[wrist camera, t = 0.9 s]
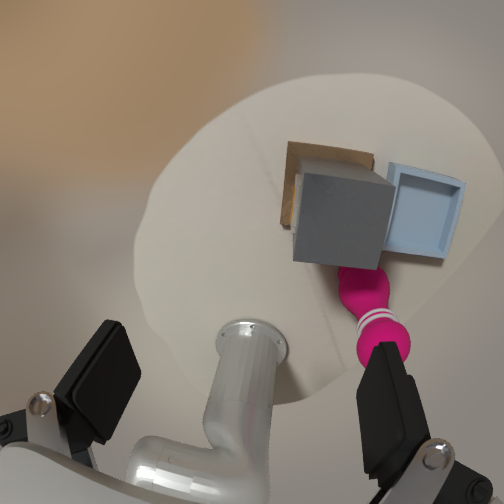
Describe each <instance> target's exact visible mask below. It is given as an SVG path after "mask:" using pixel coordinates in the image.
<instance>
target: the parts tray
mask: <svg viewBox="0 0 504 504" xmlns="http://www.w3.org/2000/svg"><path fill="white" fill-rule="evenodd" d="M387 181H388V182H390V183H391V184H393V185H394V186H396V190H395V195H394V200H393V205H392V210H391V214H390V219H389V223H388V228H387V232H386V236H385V240H384V244H383V248H382V250H384V251H392V252H400V253H407V254H415V255H422V256H430V257H437V258H444V259H446V256H447V253H448V250H449V246H450V243H451V240H452V237H453V233H454V230H455V226H456V223H457V219H458V215H459V211H460V207H461V203H462V199H463V195H464V190H465V185H466V183H464V182H462V181H460V180H458V179H455V178H452V177H448V176H445V175H441V174H437V173H434V172H430V171H426V170H422V169H418V168H413V167H409V166H405V165H400V164H396V163H391V162H389V168H388V174H387Z"/></svg>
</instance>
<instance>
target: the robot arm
mask: <svg viewBox="0 0 504 504" xmlns="http://www.w3.org/2000/svg"><path fill="white" fill-rule="evenodd" d="M216 349H217V352H218V354H219V356H220V360H219V363H218V367H217V370H216V373H215V377H214V380H213V384H212V387H211V391H210V394H209V398H208V401H207V405H206V408H205V412H204V415H203V429H204V432H205V435H206V437H207V439H208V441H209V443H210V444H211V446H212V448H213V449H208V448H200V447H196V446H192V445H188V444H184V443H180V442H177V441H173V440H170V439H166V438H162V437H158V436H145V437H143V438H141V439H139V440H138V442H136V444H135V445H134V447H133V449H132V452H131V455H130V458H129V462H128V468H127V475H126V482H124V481H121V480H119V479H116V478H114V477H111V476H109V475H106V474H104V473H102V472H99V470H98V467H97V464H96V461H95V458H94V455H93V451H92V448H91V444H92V442H93V441H95V442H97V443H100V444H102V445H105V443H106V441H107V440H109V439H111V437H112V435H113V433H114V430H115V428H116V426H117V424H118V422H119V420H120V418H121V416H122V414H123V412H124V410H125V408H126V406H127V404H128V402H129V400H130V398H131V396H132V393H133V391H134V390H135V388H136V386H137V384H138V382H139V380H140V377H141V369H140V367H139V364H138V362H137V359H136V357H135V354H134V352H133V349H132V346H131V344H130V341H129V339H128V336H127V333H126V330H125V328H124V326H122V324H121V323H120V322H118V321H113V320H108V319H107V320H105V321H104V322H103V323H102V325H101V326H100V327H99V328H98V330H97V331H96V332H95V334H94V335H93V336H92V338H91V339H90V341H89V342H88V343H87V345H86V346H85V347H84V349H83V350H82V351H81V353H80V354H79V355H78V357H77V358H76V360H75V361H74V363H73V364H72V365H71V367H70V368H69V369H68V371H67V372H66V374H65V375H64V377H63V378H62V380H61V381H60V383H59V384H58V385H57V387H56V388H55V390H54V393H55V394H54V395H53V396H52V395H51V394H50V393H48V392H45V391H42V392H37V393H35V394H34V395H33V396H31V397H30V398H29V400H28V402H27V404H26V409H23V410H20V411H17V412H13V413H10V414H6V415H3V416H0V504H268V502H269V497H270V475H269V436H270V426H271V417H272V406H273V397H274V387H275V376H276V366H278V365H279V364H280V363H281V362H282V361H283V360H284V358H285V356H286V351H287V345H286V341H285V338H284V337H283V335H282V334H281V333H280V332H279V331H278V330H277V329H276V328H274V327H273V326H271V325H269V324H267V323H265V322H261V321H257V320H246V319H244V320H237V321H234V322H231V323H229V324H227V325H225V326H224V327H223V328H222V329H221V330H220V332H219V333H218V336H217V339H216ZM356 399H357V406H358V414H359V423H360V431H361V441H362V451H363V463H364V472H365V473H366V474H369V480H370V479H378V487H379V489H378V490H377V491H376V492H375V494H374V495H373V496H372V498H371V499H370V500H369V501H368V502H367V504H503V503H502V501H501V500H500V499H499V498H498V497H497V496H496V497H493V496H492V493H493V487H492V483H491V482H490V480H489V479H487V478H486V477H485V476H483V475H481V474H479V473H477V472H475V471H473V470H472V469H470V468H468V467H466V466H464V465H463V464H461V463H459V462H458V461H456V460H455V452H454V449H453V447H452V446H451V444H450V443H449V442H447V441H446V440H443V439H440V438H434V439H431V436H430V433H429V429H428V425H427V421H426V418H425V414H424V410H423V407H422V403H421V400H420V396H419V393H418V390H417V387H416V384H415V380H414V378H413V377H412V376H411V375H407V373H406V370H405V367H404V364H403V361H402V358H401V355H400V352H399V349H398V346H397V343H396V342H395V341H384V342H379V344H378V346H374V347H373V350H372V353H371V356H370V358H369V361H368V364H367V366H366V369H365V372H364V374H363V377H362V379H361V382H360V384H359V387H358V389H357V395H356Z"/></svg>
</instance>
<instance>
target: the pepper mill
mask: <svg viewBox="0 0 504 504" xmlns="http://www.w3.org/2000/svg"><path fill="white" fill-rule="evenodd" d="M338 278H339V282H340V283H339V289H338V290H339V296H340V299H341V302H342V303H343V305H344V306H345V307H346V308H347V310H348V311H350V312H351V313H352V314H354V315H355V316H356V317H357V319H358V324H357V328H356V331H357V334H358V342H357V355H358V358H359V361H360V363H361V364H362V365H363V366H364V367H365V368H366V366H367V364H368V361H369V358H370V356H371V353H372V350H373V347H374V346H378V344H379V342H384V341H395V342H396V343H397V346H398V349H399V352H400V355H401V358H402V361H403V362H404V361H405V360H406V359H407V357H408V355H409V352H410V346H411V345H410V344H411V341H410V337H409V334H408V332H407V330H406V328H405V327H404V326H403V325H401V324H400V323H399V321H398V319H397V317H396V315H395V313H394V312H393V311H391V310H389V308H388V300H389V295H390V285H389V281H388V278H387V276H386V274H385V272H384V271H383V270H382V269H381V268H380V267H378V266H377V270H372V269H362V268H353V267H344V266H340V269H339V272H338Z"/></svg>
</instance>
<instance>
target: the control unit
mask: <svg viewBox="0 0 504 504" xmlns="http://www.w3.org/2000/svg"><path fill="white" fill-rule="evenodd" d="M373 155H374V154H372V153H367V152H362V151H356V150H350V149H344V148H338V147H331V146H324V145H317V144H309V143H301V142H292V141H288V147H287V158H286V169H285V180H284V190H283V200H282V210H281V220H280V224H282V225H291V233H293V261H298V262H307V263H316V264H326V265H335V266H344V267H353V268H362V269H372V270H377V266H378V263H379V259H380V255H381V252H382V248H383V244H384V240H385V236H386V232H387V228H388V223H389V219H390V214H391V210H392V205H393V200H394V195H395V190H396V186H394V185H393V184H391V183H390V182H388V181H387V180H385V179H384V178H382V177H381V176H379V175H378V174H376V173H375V172H373V171H372V170H371V169H372V162H373Z"/></svg>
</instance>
